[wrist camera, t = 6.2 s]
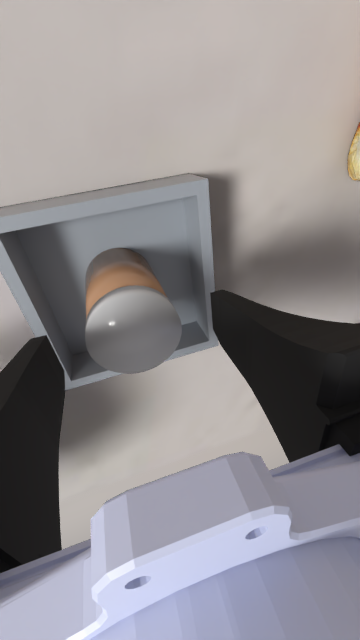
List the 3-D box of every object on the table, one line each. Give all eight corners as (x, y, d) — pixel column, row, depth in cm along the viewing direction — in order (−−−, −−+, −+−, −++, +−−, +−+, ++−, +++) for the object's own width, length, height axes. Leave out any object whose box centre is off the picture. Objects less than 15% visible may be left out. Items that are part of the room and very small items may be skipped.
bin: (202, 321, 21) (218, 345, 18) (67, 359, 19) (64, 390, 17) (188, 173, 15) (208, 178, 13) (-6, 208, 13) (-27, 222, 11)
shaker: (157, 301, 18) (185, 359, 13) (95, 316, 17) (100, 383, 13) (147, 240, 16) (176, 284, 11) (74, 254, 15) (71, 307, 10)
